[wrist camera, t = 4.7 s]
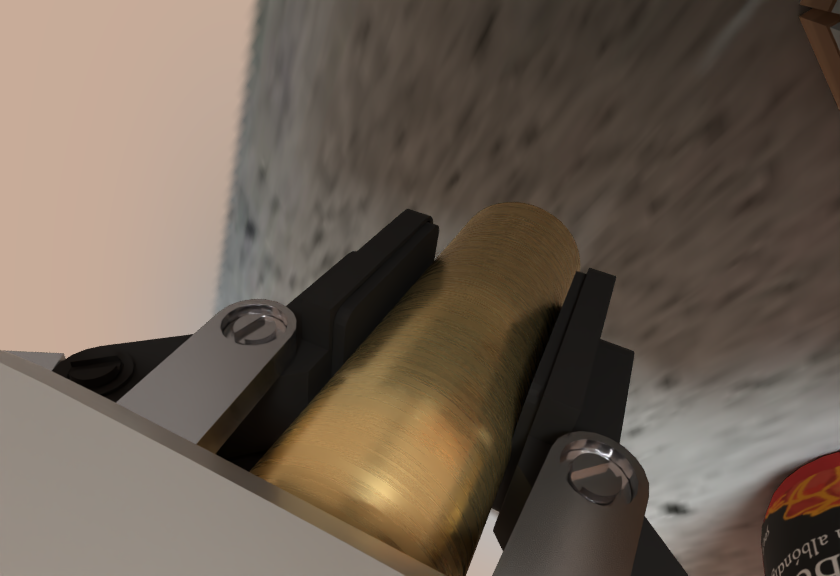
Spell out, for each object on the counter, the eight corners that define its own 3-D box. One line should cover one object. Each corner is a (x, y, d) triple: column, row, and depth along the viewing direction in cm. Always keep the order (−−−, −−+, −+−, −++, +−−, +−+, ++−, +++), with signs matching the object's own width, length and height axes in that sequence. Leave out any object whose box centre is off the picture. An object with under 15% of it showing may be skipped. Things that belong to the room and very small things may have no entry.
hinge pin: (470, 186, 12) (31, 624, 4) (597, 224, 12) (355, 858, 3) (450, 289, 14) (109, 741, 6) (559, 329, 13) (337, 916, 5)
